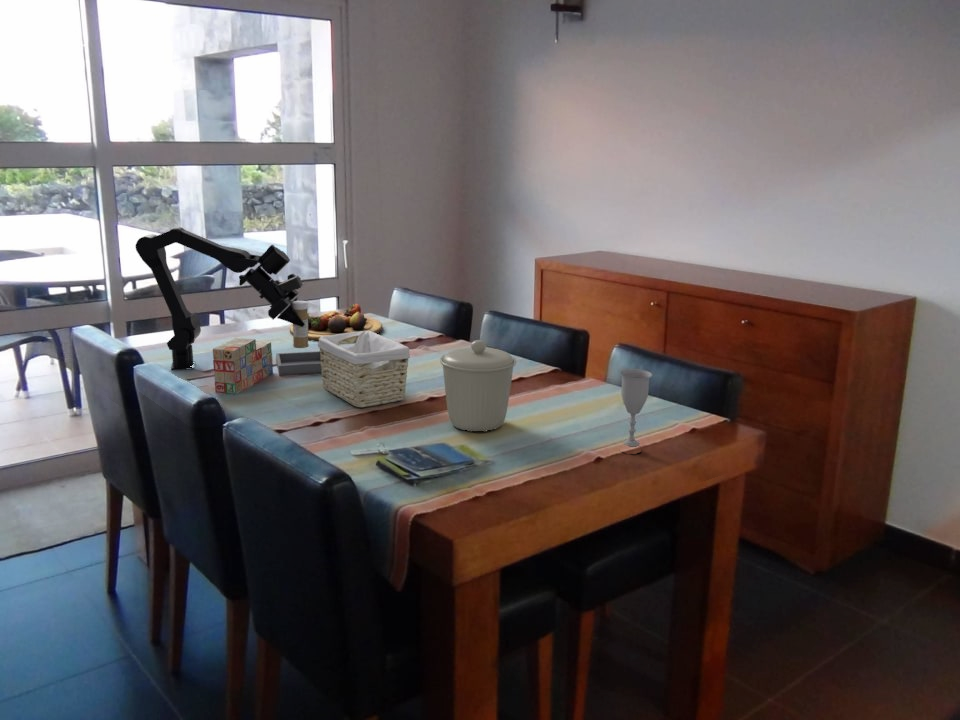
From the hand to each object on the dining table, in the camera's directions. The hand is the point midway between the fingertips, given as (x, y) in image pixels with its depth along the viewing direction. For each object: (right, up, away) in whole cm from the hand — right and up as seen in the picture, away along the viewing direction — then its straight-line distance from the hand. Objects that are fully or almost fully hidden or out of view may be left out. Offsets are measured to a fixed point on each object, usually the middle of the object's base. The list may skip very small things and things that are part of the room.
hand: (304, 323), depth 246 cm
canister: (+50, -26, -42) cm, 70 cm away
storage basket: (+20, -20, -20) cm, 34 cm away
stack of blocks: (-14, -17, -11) cm, 25 cm away
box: (-1, -13, +3) cm, 13 cm away
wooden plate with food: (+1, -1, +50) cm, 50 cm away
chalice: (+85, -31, -56) cm, 106 cm away
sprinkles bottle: (-2, -7, +2) cm, 7 cm away
